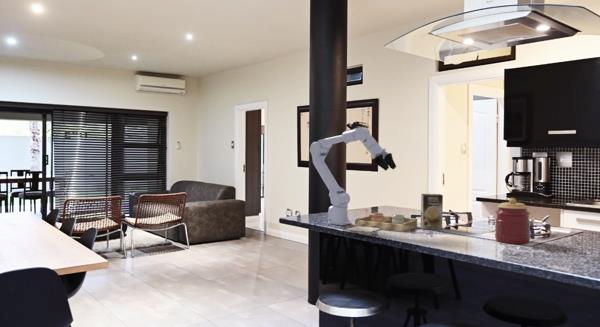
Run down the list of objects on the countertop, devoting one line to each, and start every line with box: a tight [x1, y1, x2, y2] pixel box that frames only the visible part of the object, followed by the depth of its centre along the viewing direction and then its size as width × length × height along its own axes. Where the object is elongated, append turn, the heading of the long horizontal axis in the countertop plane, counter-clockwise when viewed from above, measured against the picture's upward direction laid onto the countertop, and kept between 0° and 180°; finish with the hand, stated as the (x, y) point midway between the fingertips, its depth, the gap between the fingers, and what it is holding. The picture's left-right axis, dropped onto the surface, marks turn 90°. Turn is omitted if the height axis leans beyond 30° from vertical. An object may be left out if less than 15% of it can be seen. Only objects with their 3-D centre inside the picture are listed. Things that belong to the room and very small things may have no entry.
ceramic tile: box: [347, 226, 381, 233], centre depth 216 cm, size 12×9×1 cm
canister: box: [494, 197, 531, 245], centre depth 188 cm, size 13×13×18 cm
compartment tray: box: [354, 213, 418, 232], centre depth 224 cm, size 25×15×4 cm, turn 52°
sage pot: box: [391, 214, 405, 225], centre depth 220 cm, size 6×6×6 cm
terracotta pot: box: [370, 212, 384, 223], centre depth 226 cm, size 6×6×6 cm
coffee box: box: [420, 193, 444, 230], centre depth 219 cm, size 9×6×16 cm
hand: (391, 168), depth 217 cm, fingers open, 7 cm apart
